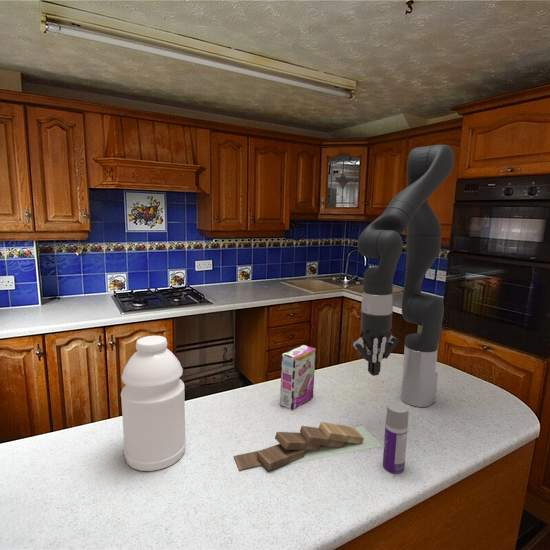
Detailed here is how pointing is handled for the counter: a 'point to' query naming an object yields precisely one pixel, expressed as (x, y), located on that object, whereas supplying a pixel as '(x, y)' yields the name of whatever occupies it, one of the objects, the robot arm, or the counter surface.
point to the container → (395, 438)
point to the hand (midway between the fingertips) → (374, 374)
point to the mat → (348, 447)
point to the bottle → (153, 406)
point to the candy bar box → (297, 377)
